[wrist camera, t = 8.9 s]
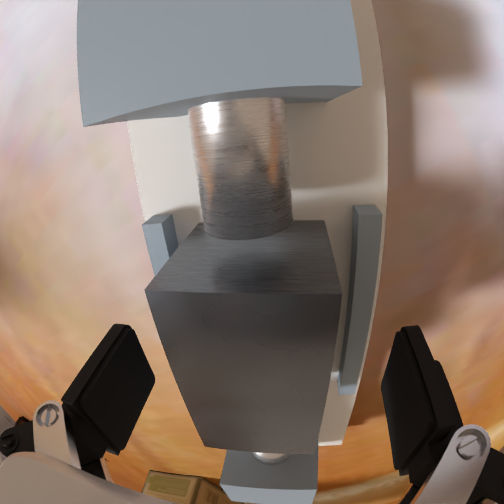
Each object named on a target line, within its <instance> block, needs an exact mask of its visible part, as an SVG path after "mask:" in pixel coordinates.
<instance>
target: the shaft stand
mask: <svg viewBox="0 0 504 504" xmlns="http://www.w3.org/2000/svg"><path fill="white" fill-rule="evenodd" d="M77 61H78V79H79V92H80V103H81V112H82V120H83V127H86V126H93V125H99V124H106V123H114V122H122V121H127V125H128V132H129V139H130V146H131V152H132V158H133V164H134V170H135V175H136V181H137V186H138V191H139V196H140V201H141V206H142V210H143V215H144V219H145V223H143V224H142V227H143V232H144V236H145V240H146V244H147V248H148V252H149V256H150V259H151V263H152V267H153V271H154V274H155V276H156V275H157V273H158V272H159V271H160V270H161V268H162V267H163V266H164V265H165V263H166V262H167V261H168V260H169V258H170V257H171V256H172V255H173V253H174V252H175V251H176V250H177V248H178V247H179V246H180V245H181V243H182V242H183V241H184V240H185V239H186V237H187V236H188V235H189V234H190V233H191V231H192V230H193V229H194V228H195V227H196V225H197V224H198V223H204V228H205V232H206V233H207V234H208V235H210V236H212V237H215V238H218V239H224V240H251V239H258V238H263V237H268V236H271V235H275V234H277V233H280V232H282V231H284V230H286V229H287V228H289V227H290V226H291V225H292V223H293V220H324V221H325V224H326V228H327V232H328V236H329V240H330V243H331V247H332V251H333V255H334V259H335V264H336V268H337V272H338V276H339V281H340V285H341V290H342V301H341V310H340V318H339V326H338V333H337V341H336V347H335V354H334V360H333V366H332V372H331V378H330V383H329V389H328V394H327V399H326V404H325V409H324V414H323V419H322V423H321V428H320V432H319V436H318V441H317V445H316V449H315V453H314V454H275V453H258V452H246V451H236V450H227V453H226V457H225V462H224V466H223V470H222V475H221V479H220V483H219V484H220V486H221V487H222V489H223V490H224V491H225V493H226V494H227V496H228V497H229V498H230V500H231V501H236V502H245V503H256V504H312V503H313V500H314V497H315V494H316V491H317V479H318V446H325V445H341V444H342V441H343V438H344V435H345V432H346V429H347V426H348V423H349V419H350V416H351V413H352V409H353V406H354V402H355V399H356V395H357V392H358V388H359V384H360V380H361V376H362V372H363V368H364V364H365V359H366V355H367V350H368V345H369V341H370V336H371V331H372V325H373V320H374V314H375V308H376V302H377V296H378V289H379V282H380V274H381V266H382V257H383V248H384V237H385V225H386V209H387V187H388V133H387V110H386V96H385V84H384V74H383V65H382V57H381V50H380V43H379V37H378V30H377V25H376V19H375V14H374V9H373V4H372V0H78V12H77Z"/></svg>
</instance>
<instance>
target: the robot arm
mask: <svg viewBox="0 0 504 504" xmlns="http://www.w3.org/2000/svg"><path fill="white" fill-rule="evenodd" d="M154 383H155V376H154V374H153V371H152V369H151V367H150V365H149V363H148V361H147V358H146V356H145V354H144V352H143V349H142V347H141V345H140V343H139V340H138V338H137V335H136V333H135V331H134V330H133V329H132V328H131V327H130V326H129V325H124V324H114V325H113V326H112V327H111V329H110V330H109V331H108V333H107V334H106V335H105V337H104V338H103V339H102V341H101V342H100V344H99V345H98V346H97V348H96V349H95V351H94V352H93V353H92V355H91V356H90V358H89V359H88V360H87V362H86V363H85V365H84V366H83V368H82V369H81V370H80V372H79V373H78V375H77V376H76V378H75V379H74V381H73V382H72V384H71V385H70V387H69V388H68V390H67V391H66V393H65V394H64V396H63V397H62V399H61V401H62V402H63V404H62V406H61V405H60V403H58V402H56V401H52V400H51V401H46V402H44V403H42V404H41V405H39V406H38V407H37V409H36V410H35V412H34V414H33V420H32V421H29V422H26V423H24V424H21V425H18V426H15V427H12V428H9V429H7V430H5V431H4V432H3V433H2V434H1V436H0V504H178V503H174V502H170V501H167V500H163V499H159V498H156V497H152V496H149V495H146V494H143V493H140V492H136V491H133V490H131V489H128V488H125V487H122V486H119V485H117V484H114V483H113V482H112V479H111V476H110V473H109V470H108V467H107V464H106V461H105V458H104V453H105V451H107V452H109V453H112V454H115V455H119V453H120V451H121V450H123V449H124V448H125V447H126V444H127V442H128V440H129V438H130V435H131V433H132V431H133V429H134V427H135V424H136V422H137V420H138V418H139V416H140V414H141V411H142V409H143V407H144V405H145V403H146V401H147V399H148V396H149V394H150V392H151V390H152V388H153V386H154ZM381 391H382V396H383V401H384V407H385V412H386V418H387V423H388V429H389V436H390V442H391V449H392V456H393V464H394V468H395V470H399V474H400V476H403V475H407V474H409V479H410V483H411V485H410V486H409V487H408V489H407V490H406V492H405V493H404V495H403V496H402V497H401V499H400V500H399V502H398V503H397V504H504V454H503V453H501V452H499V451H497V450H495V449H493V448H491V447H490V446H491V442H490V437H489V435H488V433H487V432H486V431H485V430H484V429H483V428H482V427H480V426H477V425H473V424H472V425H466V426H463V423H462V420H461V417H460V414H459V411H458V408H457V405H456V402H455V399H454V396H453V394H452V391H451V388H450V386H449V383H448V381H447V378H446V375H445V373H444V370H443V368H442V366H441V364H440V362H439V361H437V360H434V359H433V356H432V354H431V352H430V349H429V347H428V345H427V342H426V340H425V338H424V335H423V333H422V331H421V329H420V327H419V326H418V325H416V326H406V327H402V328H401V331H398V332H397V333H396V335H395V339H394V342H393V346H392V350H391V353H390V357H389V360H388V363H387V367H386V370H385V373H384V376H383V379H382V383H381Z"/></svg>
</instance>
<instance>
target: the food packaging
mask: <svg viewBox="0 0 504 504" xmlns="http://www.w3.org/2000/svg"><path fill="white" fill-rule="evenodd" d="M142 493H143V494H146V495H149V496H152V497H156V498H159V499H163V500H167V501H170V502H174V503H178V504H244V503H243V502H236V501H231V500H230V498H229V497H228V496H227V494H226V493H225V491H223V490H221V489H220V488H219V487H217V486H215V485H213V484H212V483H210V482H208V481H207V480H205V479H204V478H202V477H198V476H187V475H178V474H170V473H163V472H157V471H151V470H149V474H148V477H147V479H146V482H145V485H144V487H143V490H142Z"/></svg>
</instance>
